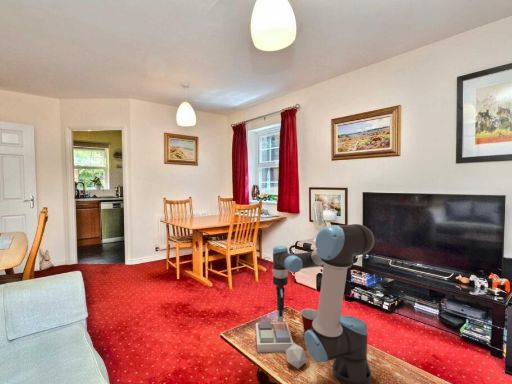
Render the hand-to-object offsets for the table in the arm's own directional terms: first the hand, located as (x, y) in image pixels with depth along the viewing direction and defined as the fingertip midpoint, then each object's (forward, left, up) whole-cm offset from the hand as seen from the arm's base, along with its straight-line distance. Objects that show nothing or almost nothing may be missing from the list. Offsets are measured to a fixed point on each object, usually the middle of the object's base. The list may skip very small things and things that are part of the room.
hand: (280, 321), depth 147 cm
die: (-23, -4, -8) cm, 25 cm away
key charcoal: (+1, +8, -4) cm, 9 cm away
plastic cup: (0, -16, -8) cm, 18 cm away
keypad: (-4, +4, -8) cm, 10 cm away
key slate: (-9, 0, -4) cm, 10 cm away
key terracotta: (0, 0, -6) cm, 6 cm away
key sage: (-9, +8, -4) cm, 12 cm away
